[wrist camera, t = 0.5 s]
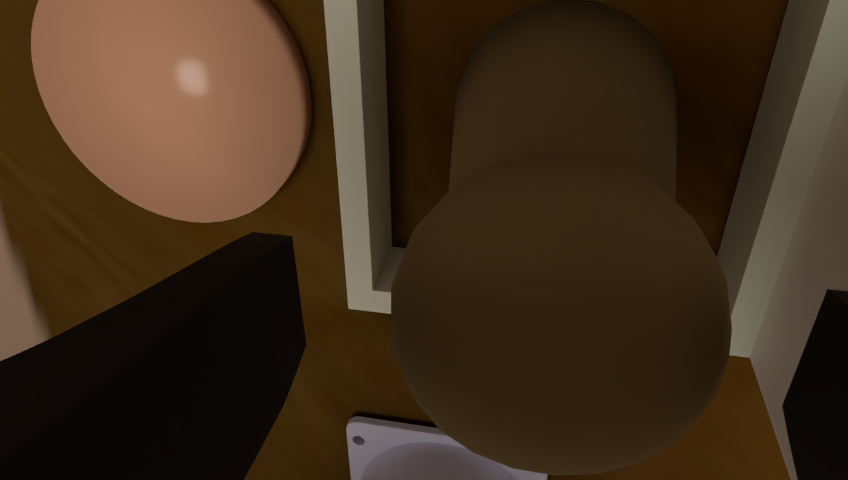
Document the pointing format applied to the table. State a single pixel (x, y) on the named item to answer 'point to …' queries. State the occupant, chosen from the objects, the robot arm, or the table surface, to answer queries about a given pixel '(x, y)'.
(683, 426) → the brown tapered cylinder
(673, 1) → the table surface
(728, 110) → the table surface
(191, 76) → the peach flat disc
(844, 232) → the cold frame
